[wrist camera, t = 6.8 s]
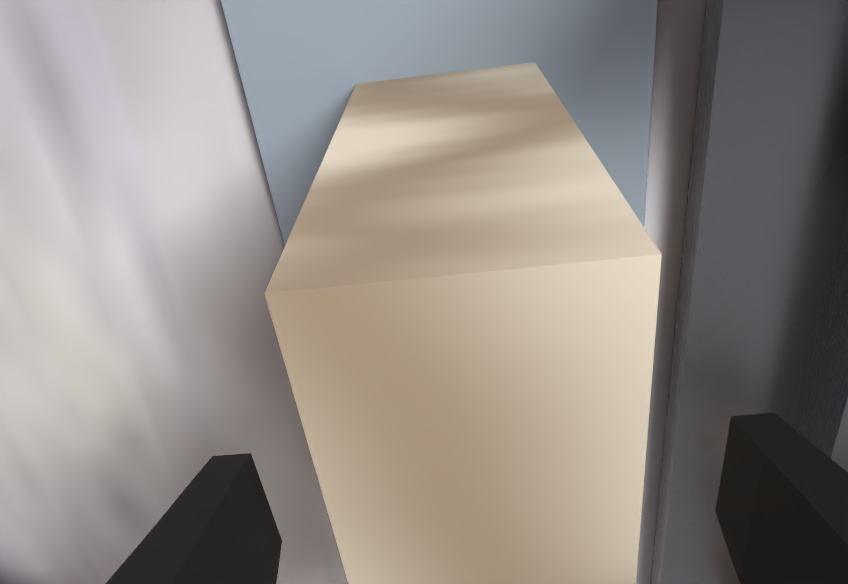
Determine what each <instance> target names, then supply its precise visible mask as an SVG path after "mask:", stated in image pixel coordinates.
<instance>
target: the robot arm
mask: <svg viewBox="0 0 848 584" xmlns="http://www.w3.org/2000/svg"><path fill="white" fill-rule="evenodd" d="M715 512H716V515H717V518H718V521H719V524H720V527H721V530H722V533H723V536H724V539H725V542H726V545H727V548H728V551H729V554H730V557H731V560H732V562H733V565H734V568H735V571H736V573H737V576H738V579H739V581H740V583H741V584H848V472H847V471H845V470H844V469H843V468H842V467H840V466H839V465H838V464H837V463H836V462H834V461H833V460H832V459H831V458H829V457H828V456H827V455H826V454H825V453H823V452H822V451H821V450H820V449H818V448H817V447H816V446H815V445H814V444H812V443H811V442H810V441H809V440H808V439H806V438H805V437H804V436H803V435H801V434H800V433H799V432H798V431H797V430H795V429H794V428H793V427H792V426H790V425H789V424H788V423H787V422H785V421H784V420H783V419H782V418H780V417H779V416H778V415H777V414H775V413H763V414H750V415H737V416H731V419H730V425H729V431H728V437H727V443H726V449H725V455H724V461H723V467H722V473H721V479H720V486H719V492H718V498H717V504H716V510H715ZM281 543H282V540H281V537H280V534H279V531H278V529H277V526H276V523H275V520H274V517H273V515H272V512H271V509H270V506H269V503H268V500H267V498H266V495H265V492H264V489H263V486H262V484H261V481H260V478H259V475H258V472H257V470H256V467H255V464H254V461H253V458H252V456H251V453H249V454H236V455H223V456H213V457H212V458H211V459H210V460H209V461H208V462H207V464H206V465H205V466H204V467H203V468H202V470H201V471H200V472H199V473H198V474H197V475H196V477H195V478H194V479H193V480H192V481H191V483H190V484H189V485H188V486H187V487H186V489H185V490H184V491H183V492H182V494H181V495H180V496H179V497H178V498H177V500H176V501H175V502H174V503H173V504H172V506H171V507H170V508H169V509H168V511H167V512H166V513H165V514H164V515H163V517H162V518H161V519H160V520H159V521H158V523H157V524H156V525H155V526H154V528H153V529H152V530H151V531H150V532H149V534H148V535H147V536H146V537H145V538H144V539H143V541H142V542H141V543H140V544H139V545H138V547H137V548H136V549H135V550H134V551H133V552H132V554H131V555H130V556H129V557H128V558H127V559H126V561H125V562H124V563H123V564H122V565H121V566H120V568H119V569H118V570H117V571H116V572H115V573H114V575H113V576H112V577H111V578H110V579H109V580H108V582H107V583H106V584H276V581H277V574H278V566H279V559H280V551H281Z"/></svg>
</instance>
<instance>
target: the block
mask: <svg viewBox="0 0 848 584" xmlns="http://www.w3.org/2000/svg"><path fill="white" fill-rule="evenodd" d="M661 257H662V254H661V252H660V251H659V249H658V248H657V246H656V245H655V243H654V242H653V240H652V239H651V237H650V236H649V234H648V233H647V231H646V230H645V228H644V227H643V225H642V224H641V222H640V221H639V219H638V218H637V216H636V215H635V213H634V212H633V210H632V209H631V207H630V205H629V204H628V202H627V201H626V199H625V198H624V196H623V195H622V193H621V192H620V190H619V189H618V187H617V186H616V184H615V183H614V181H613V180H612V178H611V177H610V175H609V174H608V172H607V171H606V169H605V168H604V166H603V165H602V163H601V162H600V160H599V158H598V157H597V155H596V154H595V152H594V151H593V149H592V148H591V146H590V145H589V143H588V142H587V140H586V139H585V137H584V136H583V134H582V133H581V131H580V130H579V128H578V127H577V125H576V124H575V122H574V121H573V119H572V118H571V116H570V115H569V113H568V111H567V110H566V108H565V107H564V105H563V104H562V102H561V101H560V99H559V98H558V96H557V95H556V93H555V92H554V90H553V89H552V87H551V86H550V84H549V83H548V81H547V80H546V78H545V77H544V75H543V74H542V72H541V71H540V69H539V68H538V66H537V65H536V63H535V62H532V63H523V64H515V65H507V66H499V67H491V68H482V69H474V70H466V71H458V72H449V73H441V74H433V75H425V76H416V77H408V78H400V79H392V80H384V81H375V82H367V83H359V84H356V85H355V88H354V90H353V92H352V94H351V97H350V99H349V101H348V104H347V106H346V108H345V110H344V113H343V115H342V117H341V120H340V122H339V124H338V126H337V129H336V131H335V133H334V136H333V138H332V140H331V142H330V145H329V147H328V149H327V151H326V154H325V156H324V158H323V161H322V163H321V165H320V167H319V170H318V172H317V174H316V177H315V179H314V181H313V183H312V186H311V188H310V190H309V193H308V195H307V197H306V199H305V202H304V204H303V206H302V209H301V211H300V213H299V215H298V218H297V220H296V222H295V224H294V227H293V229H292V231H291V234H290V236H289V238H288V240H287V243H286V245H285V247H284V250H283V252H282V254H281V256H280V259H279V261H278V263H277V266H276V268H275V270H274V272H273V275H272V277H271V279H270V281H269V284H268V286H267V288H266V291H265V293H264V294H265V298H266V301H267V305H268V308H269V312H270V315H271V318H272V322H273V325H274V329H275V332H276V336H277V339H278V343H279V346H280V350H281V353H282V356H283V360H284V363H285V367H286V370H287V374H288V377H289V381H290V384H291V388H292V391H293V394H294V398H295V401H296V405H297V408H298V412H299V415H300V419H301V422H302V426H303V429H304V432H305V436H306V439H307V443H308V446H309V450H310V453H311V457H312V460H313V464H314V467H315V471H316V474H317V477H318V481H319V484H320V488H321V491H322V495H323V498H324V502H325V505H326V509H327V512H328V515H329V519H330V522H331V526H332V529H333V533H334V536H335V540H336V543H337V547H338V550H339V553H340V557H341V560H342V564H343V567H344V571H345V574H346V578H347V581H348V584H636V576H637V563H638V550H639V538H640V525H641V512H642V499H643V486H644V474H645V461H646V448H647V435H648V423H649V410H650V397H651V384H652V372H653V359H654V346H655V333H656V320H657V308H658V295H659V282H660V269H661Z"/></svg>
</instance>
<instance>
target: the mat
mask: <svg viewBox="0 0 848 584" xmlns="http://www.w3.org/2000/svg"><path fill="white" fill-rule="evenodd" d="M221 3H222V7H223V10H224V14H225V18H226V22H227V26H228V30H229V34H230V37H231V41H232V45H233V49H234V53H235V57H236V61H237V64H238V68H239V72H240V76H241V80H242V84H243V87H244V91H245V95H246V99H247V103H248V107H249V111H250V114H251V118H252V122H253V126H254V130H255V134H256V138H257V141H258V145H259V149H260V153H261V157H262V161H263V164H264V168H265V172H266V176H267V180H268V184H269V188H270V191H271V195H272V199H273V203H274V207H275V211H276V215H277V218H278V222H279V226H280V230H281V234H282V238H283V241H284V245H286V243H287V240H288V238H289V236H290V234H291V231H292V229H293V227H294V224H295V222H296V220H297V218H298V215H299V213H300V211H301V209H302V206H303V204H304V202H305V199H306V197H307V195H308V193H309V190H310V188H311V186H312V183H313V181H314V179H315V177H316V174H317V172H318V170H319V167H320V165H321V163H322V161H323V158H324V156H325V154H326V151H327V149H328V147H329V145H330V142H331V140H332V138H333V136H334V133H335V131H336V129H337V126H338V124H339V122H340V120H341V117H342V115H343V113H344V110H345V108H346V106H347V104H348V101H349V99H350V97H351V94H352V92H353V90H354V88H355V85H356V84H359V83H367V82H375V81H384V80H392V79H400V78H408V77H416V76H425V75H433V74H441V73H449V72H458V71H466V70H474V69H482V68H491V67H499V66H507V65H515V64H523V63H532V62H535V63H536V65H537V66H538V68H539V69H540V71H541V72H542V74H543V75H544V77H545V78H546V80H547V81H548V83H549V84H550V86H551V87H552V89H553V90H554V92H555V93H556V95H557V96H558V98H559V99H560V101H561V102H562V104H563V105H564V107H565V108H566V110H567V111H568V113H569V115H570V116H571V118H572V119H573V121H574V122H575V124H576V125H577V127H578V128H579V130H580V131H581V133H582V134H583V136H584V137H585V139H586V140H587V142H588V143H589V145H590V146H591V148H592V149H593V151H594V152H595V154H596V155H597V157H598V158H599V160H600V162H601V163H602V165H603V166H604V168H605V169H606V171H607V172H608V174H609V175H610V177H611V178H612V180H613V181H614V183H615V184H616V186H617V187H618V189H619V190H620V192H621V193H622V195H623V196H624V198H625V199H626V201H627V202H628V204H629V205H630V207H631V209H632V210H633V212H634V213H635V215H636V216H637V218H638V219H639V221H640V222H641V224H642V225H643V227H644V220H645V203H646V187H647V170H648V154H649V137H650V120H651V104H652V87H653V70H654V54H655V37H656V21H657V4H658V0H221Z"/></svg>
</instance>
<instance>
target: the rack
mask: <svg viewBox="0 0 848 584" xmlns="http://www.w3.org/2000/svg"><path fill="white" fill-rule="evenodd" d="M763 413H775V414H777V415H778V416H779V417H780V418H782V419H783V420H784V421H785V422H787V423H788V424H789V425H790V426H792V427H793V428H794V429H795V430H797V431H798V432H799V433H800V434H801V435H803V436H804V437H805V438H806V439H808V440H809V441H810V442H811V443H812V444H814V445H815V446H816V447H817V448H818V449H820V450H821V451H822V452H823V453H825V454H826V455H827V456H828V457H829V458H831V459H832V460H833V461H834V462H836V463H837V464H838V465H839V466H840V467H842V468H843V469H844V470H845V471H847V472H848V0H707V2H706V12H705V22H704V33H703V43H702V54H701V64H700V75H699V85H698V95H697V106H696V116H695V127H694V137H693V148H692V158H691V168H690V179H689V189H688V200H687V210H686V220H685V231H684V241H683V252H682V262H681V273H680V283H679V293H678V304H677V314H676V325H675V335H674V346H673V356H672V366H671V377H670V387H669V398H668V408H667V418H666V429H665V439H664V450H663V460H662V471H661V481H660V491H659V502H658V512H657V523H656V533H655V544H654V554H653V564H652V575H651V584H741V583H740V581H739V579H738V576H737V573H736V571H735V568H734V565H733V562H732V560H731V557H730V554H729V551H728V548H727V545H726V542H725V539H724V536H723V533H722V530H721V527H720V524H719V521H718V518H717V515H716V512H715V510H716V504H717V498H718V492H719V486H720V479H721V473H722V467H723V461H724V455H725V449H726V443H727V437H728V431H729V425H730V419H731V416H737V415H750V414H763Z"/></svg>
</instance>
